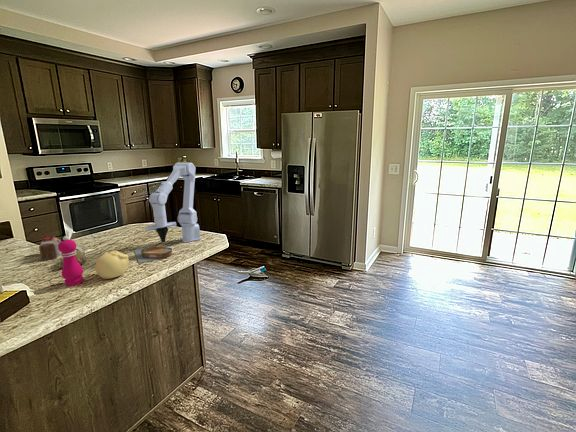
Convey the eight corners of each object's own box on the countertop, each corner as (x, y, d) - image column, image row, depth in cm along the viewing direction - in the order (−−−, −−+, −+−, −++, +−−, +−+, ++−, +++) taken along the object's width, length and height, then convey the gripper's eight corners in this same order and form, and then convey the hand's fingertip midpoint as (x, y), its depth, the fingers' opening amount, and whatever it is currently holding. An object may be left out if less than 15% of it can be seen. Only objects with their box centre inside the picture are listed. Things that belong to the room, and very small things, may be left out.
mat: (155, 246, 165) (155, 246, 165) (162, 258, 148) (162, 258, 148) (134, 250, 159) (134, 250, 159) (138, 263, 143) (138, 262, 143)
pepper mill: (70, 279, 128) (61, 233, 123) (88, 278, 128) (80, 233, 123) (59, 287, 121) (49, 239, 116) (78, 286, 121) (69, 238, 116)
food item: (44, 252, 158) (40, 234, 155) (63, 249, 162) (59, 232, 159) (40, 261, 146) (36, 242, 144) (60, 258, 150) (56, 239, 148)
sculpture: (135, 271, 134) (131, 248, 132) (111, 283, 123) (107, 258, 121) (115, 268, 138) (111, 245, 135) (91, 279, 127) (86, 255, 124)
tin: (174, 247, 155) (166, 252, 147) (175, 253, 156) (167, 258, 147) (146, 246, 156) (137, 251, 148) (147, 252, 157) (137, 257, 149)
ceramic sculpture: (87, 239, 150) (82, 251, 137) (90, 255, 153) (85, 268, 140) (61, 243, 146) (53, 255, 133) (65, 259, 149) (58, 273, 136)
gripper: (171, 212, 160) (174, 236, 164) (142, 217, 152) (146, 242, 155) (176, 215, 155) (179, 240, 159) (146, 220, 146) (150, 246, 150)
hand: (163, 241), depth 157 cm, fingers closed
